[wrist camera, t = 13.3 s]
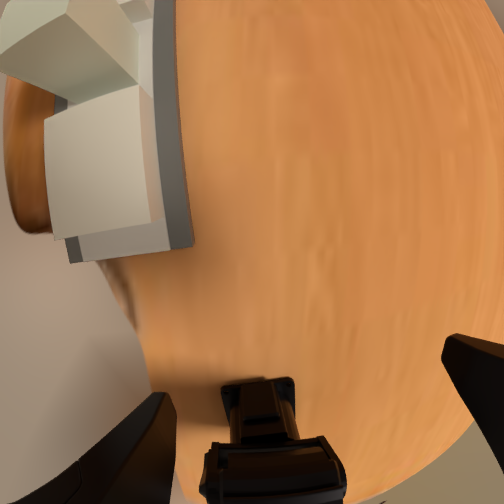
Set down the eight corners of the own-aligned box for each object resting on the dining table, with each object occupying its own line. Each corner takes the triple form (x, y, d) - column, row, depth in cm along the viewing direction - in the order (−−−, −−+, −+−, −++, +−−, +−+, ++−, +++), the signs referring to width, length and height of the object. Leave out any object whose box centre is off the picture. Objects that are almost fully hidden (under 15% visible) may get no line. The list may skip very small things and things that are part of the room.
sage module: (138, 84, 15) (65, 13, 5) (77, 104, 14) (-15, 66, 5) (139, 32, 13) (86, -47, 4) (81, 53, 13) (8, 0, 3)
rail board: (195, 243, 19) (184, 259, 15) (77, 259, 18) (47, 276, 14) (177, -44, 12) (170, -70, 8) (82, -13, 12) (65, -33, 7)
